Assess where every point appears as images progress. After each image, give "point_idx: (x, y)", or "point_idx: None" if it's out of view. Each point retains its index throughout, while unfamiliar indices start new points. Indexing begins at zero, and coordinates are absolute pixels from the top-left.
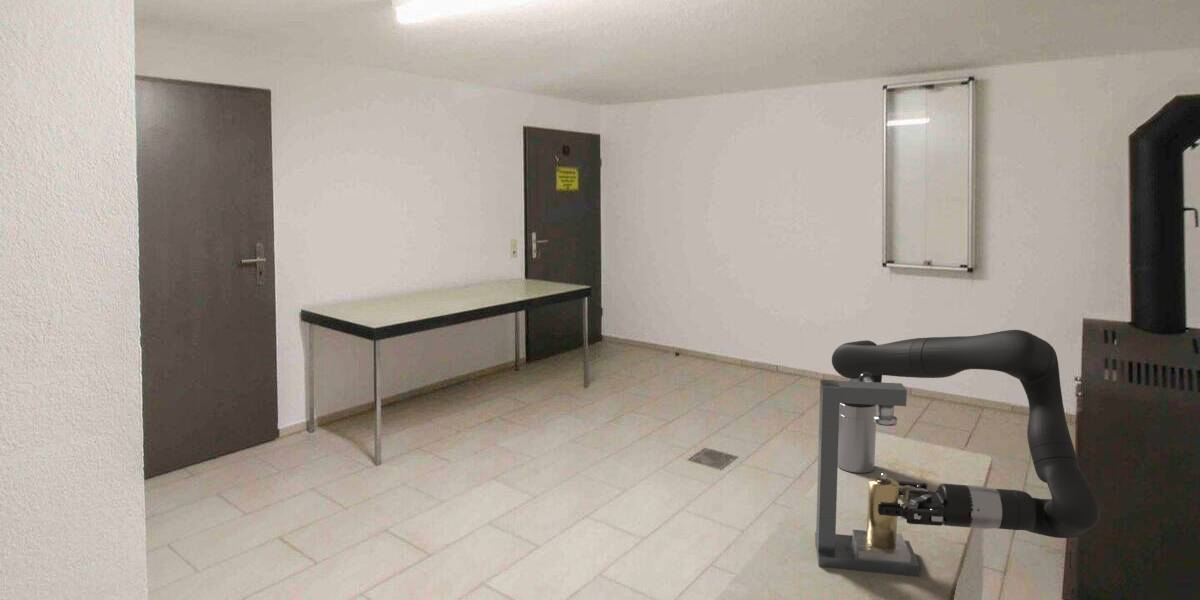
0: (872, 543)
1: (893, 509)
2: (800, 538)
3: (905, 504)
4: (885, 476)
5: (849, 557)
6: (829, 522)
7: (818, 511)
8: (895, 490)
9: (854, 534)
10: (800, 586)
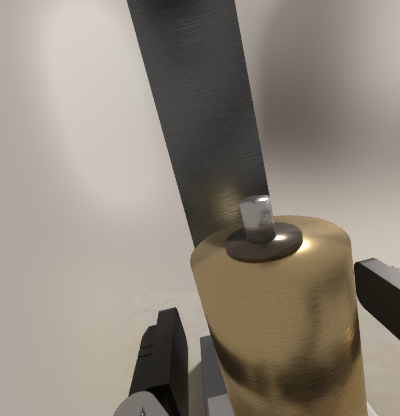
0: None
1: (138, 372)
2: None
3: (131, 413)
4: (242, 213)
5: (213, 392)
6: None
7: None
8: (220, 307)
9: None
10: (137, 345)
